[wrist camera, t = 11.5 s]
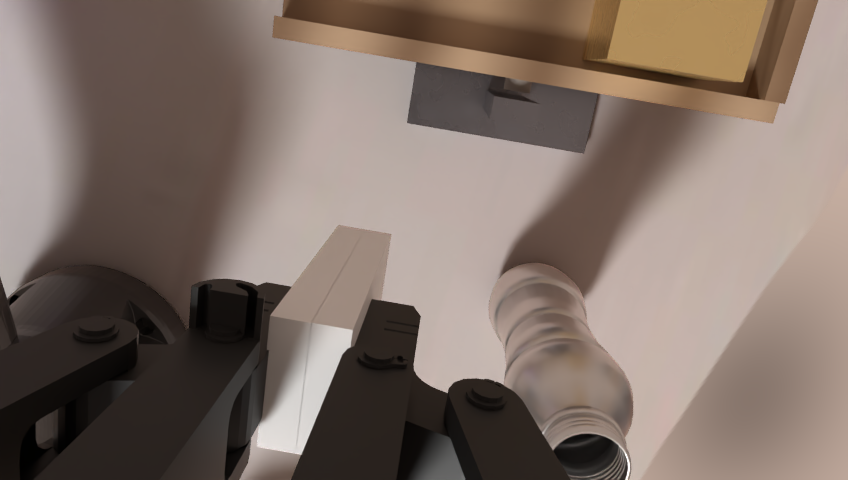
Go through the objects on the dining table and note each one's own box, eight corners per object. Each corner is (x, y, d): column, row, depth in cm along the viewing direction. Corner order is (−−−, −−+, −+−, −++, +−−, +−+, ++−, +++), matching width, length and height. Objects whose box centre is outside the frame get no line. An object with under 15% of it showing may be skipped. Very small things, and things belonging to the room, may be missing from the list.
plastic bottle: (520, 237, 44) (568, 368, 25) (597, 287, 45) (701, 453, 26) (469, 306, 46) (477, 481, 26) (544, 354, 46) (604, 557, 27)
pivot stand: (408, 121, 42) (392, 138, 32) (449, -139, 38) (445, -214, 28) (580, 151, 42) (619, 177, 32) (641, -107, 38) (708, -170, 28)
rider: (581, 59, 31) (606, 58, 27) (605, -46, 30) (636, -67, 25) (697, 79, 32) (743, 82, 27) (726, -25, 30) (780, -42, 25)
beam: (299, 52, 36) (268, 49, 30) (317, -122, 34) (288, -166, 27) (716, 124, 37) (774, 136, 30) (765, -43, 34) (839, -68, 28)
